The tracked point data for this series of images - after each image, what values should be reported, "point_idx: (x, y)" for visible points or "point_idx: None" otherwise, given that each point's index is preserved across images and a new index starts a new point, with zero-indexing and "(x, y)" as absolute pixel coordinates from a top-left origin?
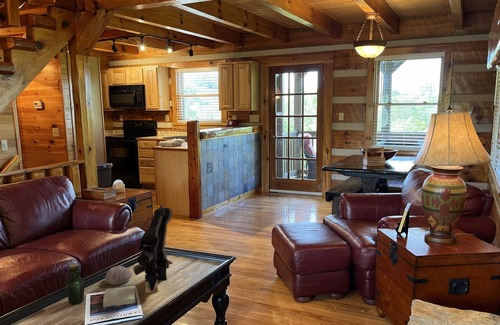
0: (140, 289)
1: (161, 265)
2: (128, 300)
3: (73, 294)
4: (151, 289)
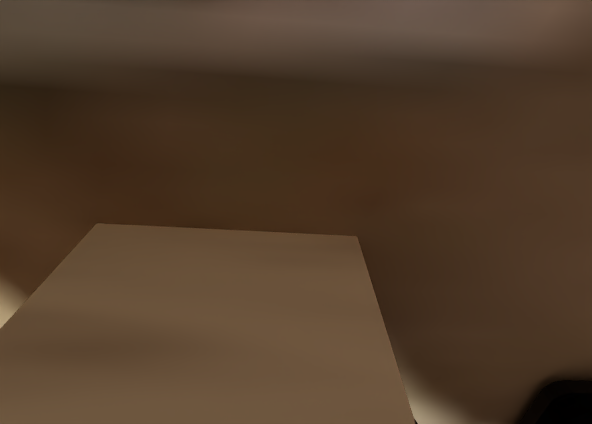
0: (327, 129)
1: None
2: None
3: None
4: None
